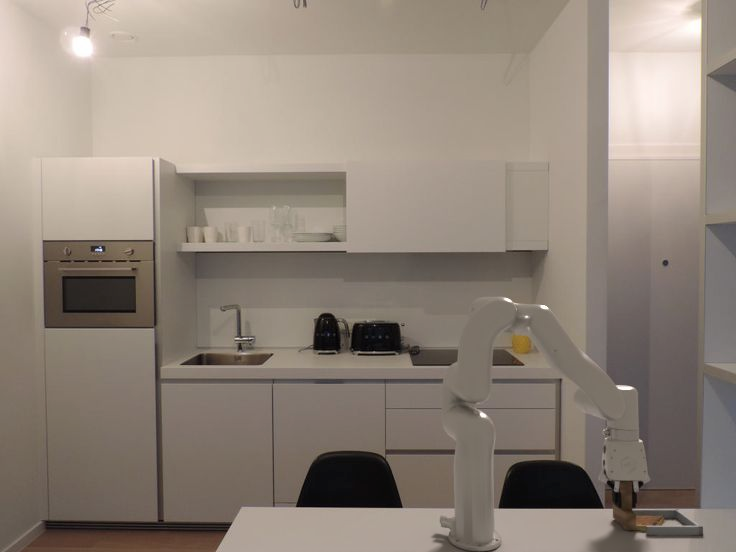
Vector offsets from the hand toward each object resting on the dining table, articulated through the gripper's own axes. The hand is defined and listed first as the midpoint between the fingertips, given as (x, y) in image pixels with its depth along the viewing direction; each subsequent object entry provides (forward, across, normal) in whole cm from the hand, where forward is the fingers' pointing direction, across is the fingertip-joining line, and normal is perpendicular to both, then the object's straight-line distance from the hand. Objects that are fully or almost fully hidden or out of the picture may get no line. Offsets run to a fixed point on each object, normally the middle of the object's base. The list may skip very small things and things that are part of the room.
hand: (624, 505), depth 143 cm
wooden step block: (+5, 0, 0) cm, 5 cm away
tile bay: (+5, +9, 0) cm, 11 cm away
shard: (+6, +5, +2) cm, 8 cm away
